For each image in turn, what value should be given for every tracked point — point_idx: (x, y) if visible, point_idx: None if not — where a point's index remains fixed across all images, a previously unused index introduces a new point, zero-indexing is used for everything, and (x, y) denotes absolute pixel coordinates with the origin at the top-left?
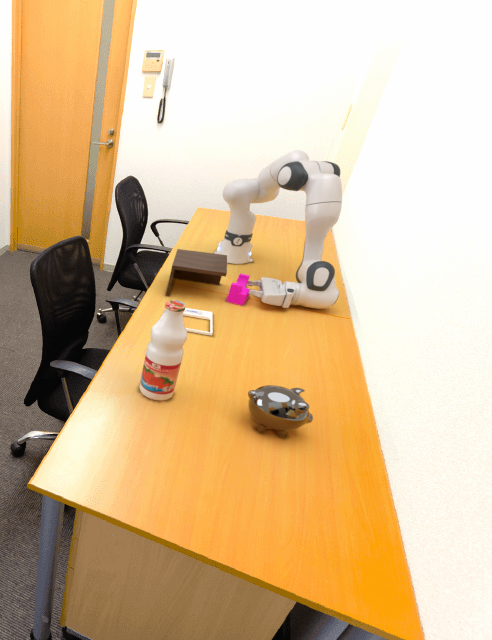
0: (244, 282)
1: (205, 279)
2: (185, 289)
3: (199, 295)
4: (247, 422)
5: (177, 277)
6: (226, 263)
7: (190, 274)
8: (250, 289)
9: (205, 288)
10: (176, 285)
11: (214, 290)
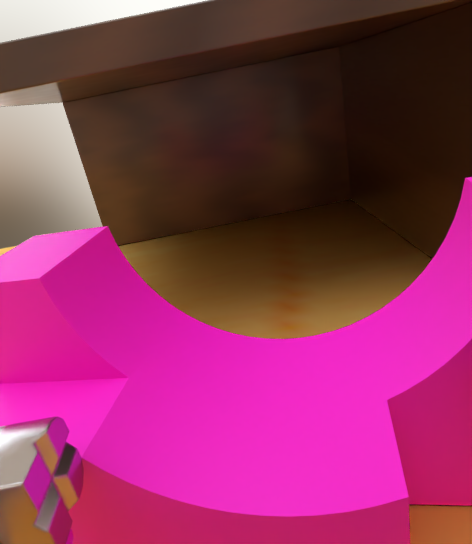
0: (459, 317)
1: (420, 223)
2: (230, 247)
3: (170, 291)
4: None
5: (355, 195)
6: (207, 2)
7: (377, 179)
8: (25, 424)
9: (318, 276)
10: (263, 223)
11: (323, 308)
